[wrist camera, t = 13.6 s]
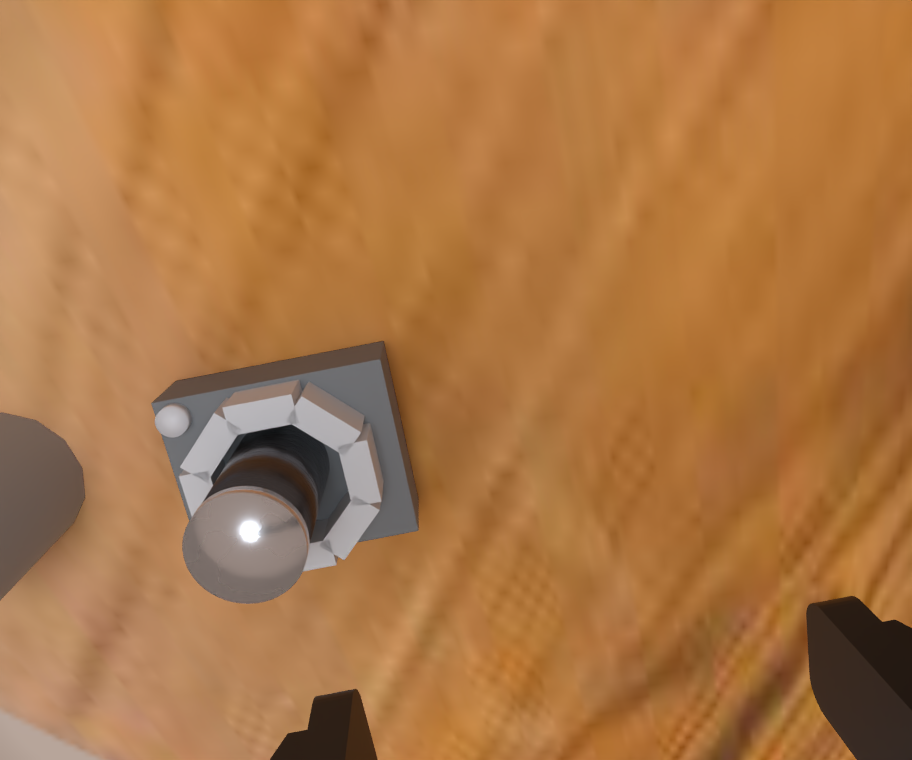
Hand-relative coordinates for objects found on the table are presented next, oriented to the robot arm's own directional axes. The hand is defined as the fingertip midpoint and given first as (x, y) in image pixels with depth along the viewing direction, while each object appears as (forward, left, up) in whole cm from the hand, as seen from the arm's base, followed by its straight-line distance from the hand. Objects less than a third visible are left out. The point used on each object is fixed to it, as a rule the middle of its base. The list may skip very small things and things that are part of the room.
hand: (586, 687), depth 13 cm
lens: (+11, +5, -26) cm, 29 cm away
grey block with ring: (+11, +5, -30) cm, 32 cm away
